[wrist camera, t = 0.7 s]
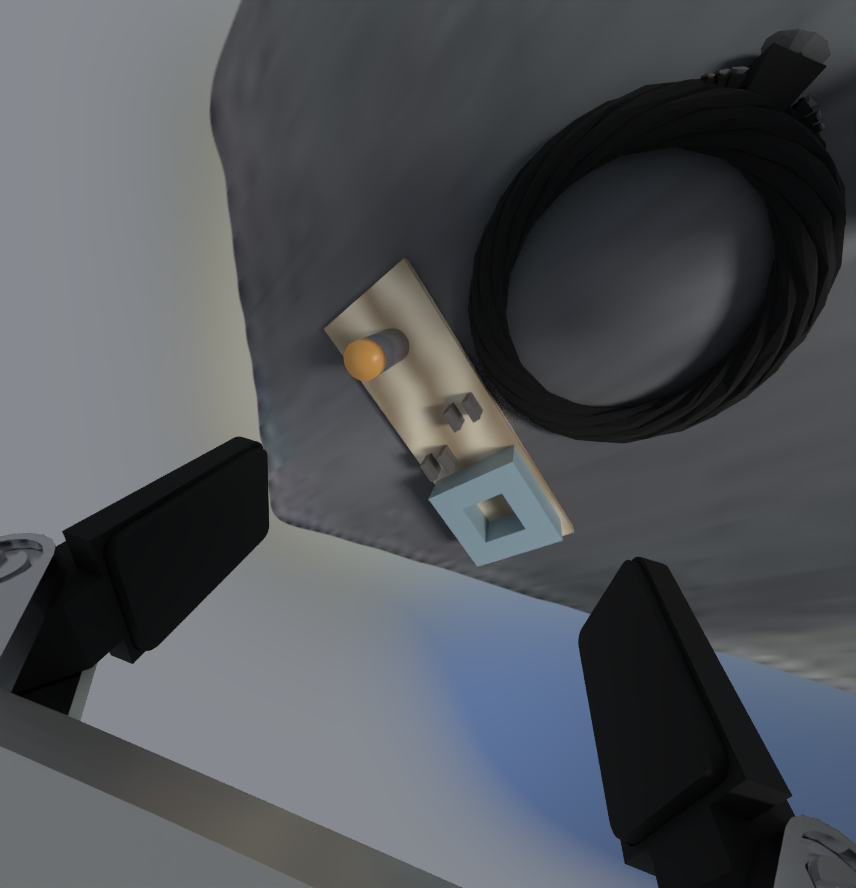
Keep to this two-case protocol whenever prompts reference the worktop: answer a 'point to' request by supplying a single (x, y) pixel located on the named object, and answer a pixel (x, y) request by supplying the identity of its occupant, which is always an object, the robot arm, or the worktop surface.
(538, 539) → the end holder
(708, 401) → the cable lock
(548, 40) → the worktop surface
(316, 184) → the worktop surface
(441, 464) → the board
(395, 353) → the connector plug
